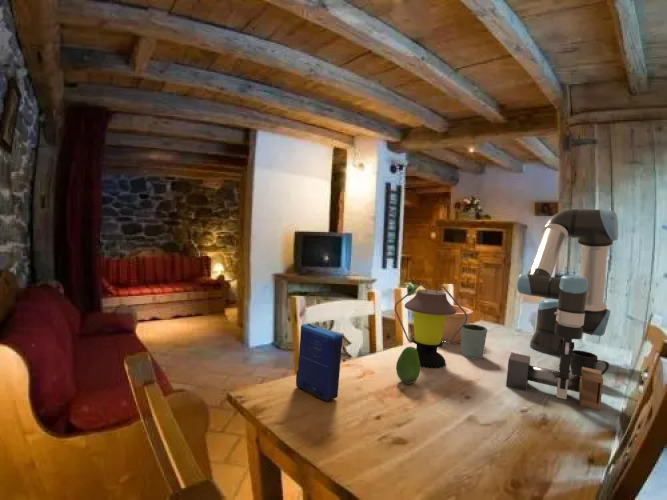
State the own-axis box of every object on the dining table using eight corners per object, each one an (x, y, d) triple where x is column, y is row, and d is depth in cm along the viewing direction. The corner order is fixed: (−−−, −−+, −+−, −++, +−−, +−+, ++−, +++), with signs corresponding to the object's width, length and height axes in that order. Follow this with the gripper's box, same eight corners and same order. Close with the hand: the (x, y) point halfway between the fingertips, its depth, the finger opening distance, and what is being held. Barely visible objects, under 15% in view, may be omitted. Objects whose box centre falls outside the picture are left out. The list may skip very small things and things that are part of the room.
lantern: (468, 367, 144) (475, 288, 142) (439, 377, 132) (446, 292, 130) (415, 348, 163) (421, 278, 161) (385, 355, 151) (391, 280, 149)
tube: (515, 379, 128) (516, 364, 128) (516, 374, 133) (518, 360, 132) (586, 396, 118) (588, 380, 118) (585, 391, 123) (587, 375, 122)
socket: (578, 394, 125) (582, 366, 125) (597, 399, 123) (600, 370, 122) (579, 405, 117) (583, 375, 117) (599, 410, 115) (603, 379, 114)
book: (292, 388, 117) (296, 323, 115) (305, 383, 121) (309, 321, 119) (327, 405, 107) (332, 335, 106) (340, 399, 111) (344, 331, 110)
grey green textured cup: (486, 355, 160) (489, 327, 159) (481, 361, 151) (484, 332, 150) (462, 349, 165) (464, 322, 164) (455, 355, 157) (458, 327, 156)
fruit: (423, 383, 127) (426, 347, 126) (411, 389, 121) (414, 352, 120) (403, 375, 132) (406, 341, 131) (390, 381, 126) (393, 345, 125)
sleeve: (508, 378, 136) (511, 352, 135) (527, 382, 133) (530, 356, 132) (505, 386, 128) (508, 359, 128) (525, 391, 125) (528, 363, 125)
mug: (600, 390, 131) (603, 362, 130) (563, 376, 141) (566, 351, 140) (610, 385, 135) (614, 359, 134) (574, 373, 145) (577, 348, 144)
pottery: (472, 336, 187) (475, 307, 186) (468, 348, 167) (470, 316, 166) (427, 329, 196) (430, 301, 195) (418, 339, 176) (421, 308, 175)
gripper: (556, 317, 132) (548, 382, 133) (555, 327, 116) (546, 401, 118) (581, 321, 128) (574, 388, 130) (584, 332, 113) (575, 408, 114)
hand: (561, 394), depth 124 cm, fingers closed on tube, 5 cm apart
